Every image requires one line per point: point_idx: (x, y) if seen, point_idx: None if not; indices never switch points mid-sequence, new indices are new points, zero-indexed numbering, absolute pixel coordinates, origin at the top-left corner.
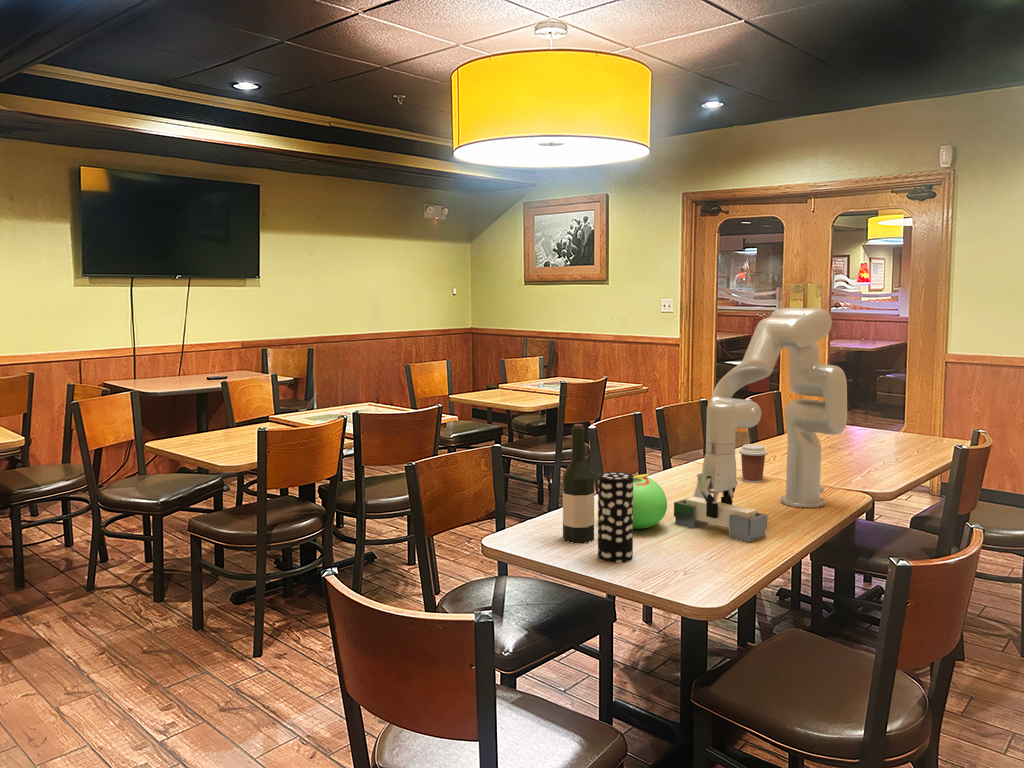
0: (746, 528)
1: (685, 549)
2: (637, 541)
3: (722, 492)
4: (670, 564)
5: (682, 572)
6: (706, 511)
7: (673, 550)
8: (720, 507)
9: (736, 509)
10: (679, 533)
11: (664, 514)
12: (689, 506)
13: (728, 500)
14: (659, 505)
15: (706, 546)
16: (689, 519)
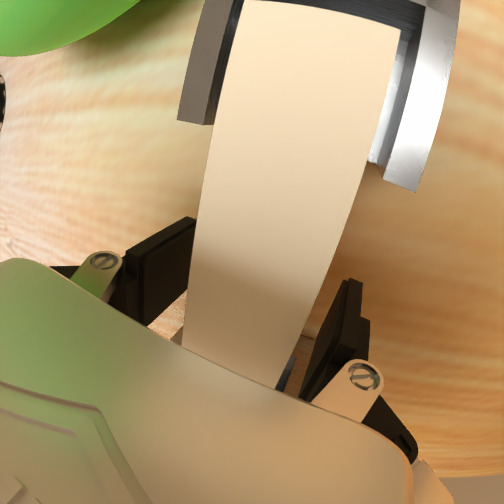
0: None
1: (57, 200)
2: (46, 62)
3: (323, 391)
4: (11, 209)
5: (9, 240)
6: (172, 224)
7: (42, 177)
8: (185, 325)
9: None
10: (149, 103)
11: (85, 34)
12: (186, 80)
13: (305, 384)
14: (5, 55)
15: (98, 244)
16: None
